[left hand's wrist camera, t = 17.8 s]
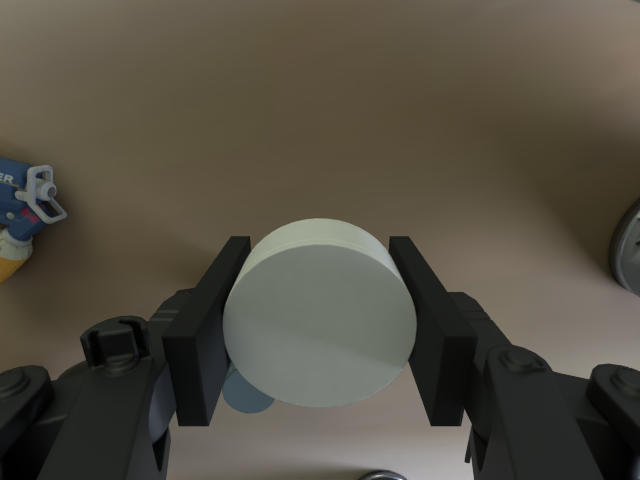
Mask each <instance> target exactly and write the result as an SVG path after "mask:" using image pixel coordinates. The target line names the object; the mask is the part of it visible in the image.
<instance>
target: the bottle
mask: <svg viewBox="0 0 640 480" xmlns="http://www.w3.org/2000/svg"><path fill="white" fill-rule="evenodd" d="M222 392H223V397H224V399H225V401H226V402H227V403H228V405H230V406H231V407H232V408H234V409H235V410H238V411H240V412H244V413H257V412H261V411H264V410H265V409H267V408H268V407H270V406H271V404H272V403H273V402H274V400H275V399H274V398H272V397H270V396H268V395H266V394H265V393H263V392H261V391H259V390H258V389H257V388H255V387H254V386H253V385H251V384H250V383H249V382H248V381H247V380H246V379H245V378H244V377H243V376H242V375H241V374H240V372H239V371H238V370H237V369H236V367H235V366H234V364H233V362H232V361H231V364H230V367H229V370H228V372H227V375H226V378H225V381H224V384H223V387H222Z"/></svg>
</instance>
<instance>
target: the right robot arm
mask: <svg viewBox="0 0 640 480" xmlns="http://www.w3.org/2000/svg"><path fill="white" fill-rule="evenodd" d="M194 289H195V288H190V289H184V290H179V291H177V292H176V293H175V294H177V293H192V292H193V290H194ZM88 370H89V367H88V364H87V361H86V360H85V361H83V362H81V363H78V364H76V365H74V366H72V367H71V368H69V369H67V370H66V371H65V372H63V373H62V374H61V375H60V376H59V377H58V379H63V378H68V377H72V376H77V375H81V374H85V373H87V372H88ZM58 379H57V380H58ZM359 480H407V479H406V478H404V477H403V476H401V475H399V474H397V473H393V472H385V471H382V472H374V473H371V474H368V475H365V476H364V477H362V478H360V479H359Z"/></svg>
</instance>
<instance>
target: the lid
mask: <svg viewBox="0 0 640 480" xmlns="http://www.w3.org/2000/svg"><path fill="white" fill-rule="evenodd" d="M222 325H223V334H224V342H225V347H226V350H227V352H228V355H229V357H230V359H231V361H232V362H233V364H234V366H235V367H236V369H237V370H238V371H239V372H240V374H241V375H242V376H243V377H244V378H245V379H246V380H247V381H248V382H249V383H250V384H251V385H253V386H254V387H255V388H257V389H258V390H259V391H261V392H263V393H265V394H266V395H268V396H270V397H272V398H274V399H277V400H279V401H282V402H285V403H288V404H292V405H296V406H301V407H310V408H328V407H337V406H342V405H347V404H350V403H354V402H357V401H360V400H362V399H364V398H367V397H369V396H371V395H372V394H374V393H376V392H378V391H379V390H381V389H382V388H383V387H385V386H386V385H387V384H389V383H390V382H391V381H392V380H393V379H394V378H395V377H396V376H397V375H398V374H399V372H400V371H401V370H402V369H403V367H404V366H405V364H406V362H407V361H408V359H409V357H410V355H411V353H412V350H413V347H414V344H415V337H416V329H417V316H416V311H415V306H414V303H413V300H412V297H411V295H410V293H409V291H408V289H407V287H406V285H405V283H404V281H403V279H402V277H401V275H400V273H399V271H398V269H397V267H396V265H395V263H394V261H393V259H392V257H391V256H390V254H389V253H388V251H387V250H386V249H385V247H384V246H383V245H382V244H381V243H380V242H379V241H378V240H377V239H376V238H374V237H373V236H372V235H371V234H369V233H368V232H366V231H364V230H363V229H361V228H359V227H357V226H354V225H352V224H350V223H346V222H342V221H339V220H332V219H306V220H301V221H297V222H293V223H290V224H287V225H285V226H282V227H280V228H278V229H277V230H275V231H273V232H271V233H270V234H269V235H267V236H266V237H265V238H263V239H262V240H261V241H260V242H259V243H258V244H257V245H256V246H255V248H254V249H253V250H252V251H251V253H250V254H249V256H248V258H247V259H246V261H245V263H244V265H243V267H242V269H241V271H240V273H239V275H238V277H237V280H236V282H235V284H234V286H233V288H232V290H231V292H230V294H229V297H228V299H227V302H226V304H225V308H224V313H223V321H222Z"/></svg>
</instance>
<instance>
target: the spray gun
mask: <svg viewBox="0 0 640 480" xmlns="http://www.w3.org/2000/svg"><path fill="white" fill-rule="evenodd" d="M42 171H45V180H43V179H42V173H41V172H42ZM56 191H57V189H56V187H55V185H54V183H53V169H52V167H51V166H49V165H42V166H36V167H34V166H32V165H28V164H24V163H21V162H17V161H13V160H9V159H6V158H2V157H0V223H1V224H5V225H7V227H5V228H0V286H1V285H2V284H3V283H4V282H5V281H6V280H7V279H8V278H9V277H10V276H11V275H12V274H13V273H14V272H15V271H16V270H17V269H18V268H19V267H20V266H21V265H22V264H23V263H24V262H25V261H26V260H27V259H28V258H29V257H30V256H31V254H32V252H33V248H32V243H31V242H32V240H33V237H32V235H34V234H37V233H38V232H39V231H40V230H41V229H43V228H44V227H45V226H46V225H48V224H52V223H55V222H57V221H60V220H63V219H65V218H66V217H67V213H66V212H65V211H64V210H63V208H62V207H61V206H60V205H59V204H58V203H57V202H56V201H55V200H54V198H53V197H54V196H55V195H56ZM43 201H48V202H49V203H50V204H51V205H52V206H53V207H54V208H55V210H56V211H57V212H58V213H59V216H56V217H54V216H53V215H52V214H51V213H50V212H49V210H48V209H47V208H46V207H45V206H44V205H43V204H42V203H41V202H43Z"/></svg>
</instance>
